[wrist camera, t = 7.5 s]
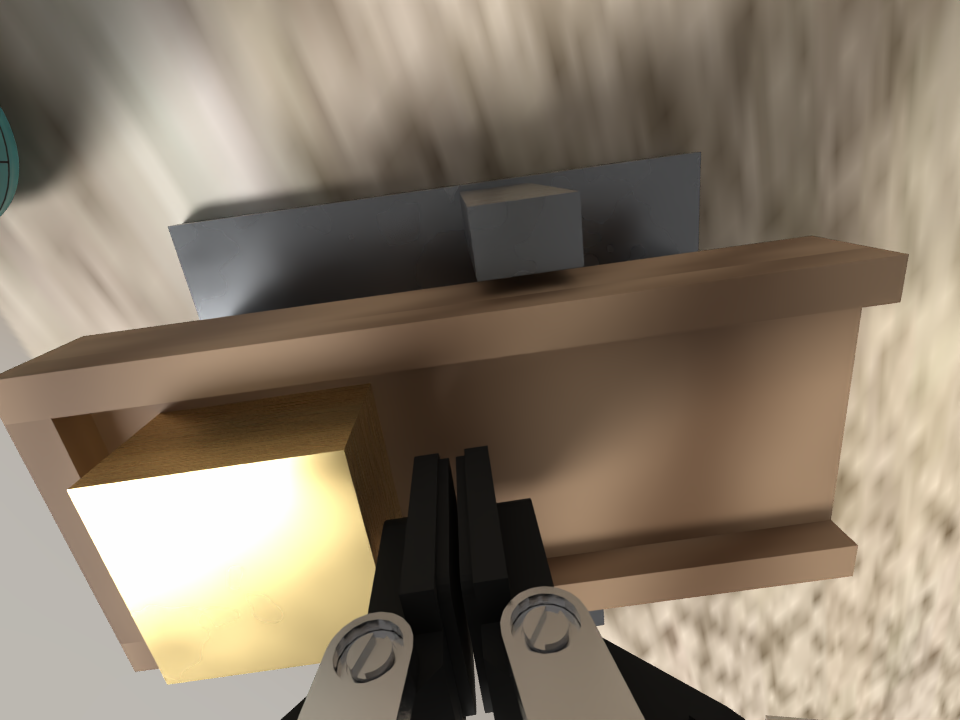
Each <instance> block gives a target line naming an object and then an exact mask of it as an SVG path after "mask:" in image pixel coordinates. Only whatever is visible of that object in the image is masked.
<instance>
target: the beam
mask: <svg viewBox="0 0 960 720" xmlns="http://www.w3.org/2000/svg"><path fill="white" fill-rule="evenodd" d="M908 256H909V254H904V253H899V252H894V251H889V250H883V249H878V248H873V247H868V246H862V245H857V244H852V243H847V242H841V241H836V240H831V239H826V238H820V237H815V236H806V237H799V238H791V239H784V240H777V241H770V242H762V243H755V244H748V245H741V246H733V247H726V248H719V249H712V250H704V251H697V252H690V253H683V254H675V255H668V256H661V257H654V258H646V259H639V260H632V261H625V262H617V263H610V264H603V265H596V266H589V267H581V268H574V269H567V270H560V271H552V272H545V273H538V274H531V275H523V276H516V277H509V278H502V279H494V280H487V281H480V282H473V283H465V284H458V285H451V286H444V287H436V288H429V289H422V290H415V291H407V292H400V293H393V294H386V295H379V296H371V297H364V298H357V299H350V300H342V301H335V302H328V303H321V304H313V305H306V306H299V307H292V308H284V309H277V310H270V311H263V312H255V313H248V314H241V315H234V316H226V317H219V318H212V319H205V320H197V321H190V322H183V323H176V324H169V325H161V326H154V327H147V328H140V329H132V330H125V331H118V332H111V333H103V334H96V335H89V336H83V337H80V338H78V339H76V340H74V341H72V342H69V343H67V344H65V345H63V346H60V347H58V348H56V349H54V350H52V351H49V352H47V353H45V354H43V355H40V356H38V357H36V358H34V359H32V360H29V361H27V362H25V363H23V364H20V365H18V366H16V367H14V368H12V369H9V370H7V371H5V372H3V373H1V374H0V418H1V420H2V421H3V423H4V425H5V427H6V429H7V431H8V433H9V435H10V437H11V439H12V440H13V442H14V444H15V446H16V448H17V450H18V452H19V454H20V455H21V457H22V459H23V461H24V463H25V465H26V467H27V469H28V470H29V473H30V474H31V476H32V478H33V480H34V482H35V484H36V486H37V488H38V489H39V491H40V493H41V495H42V497H43V499H44V501H45V503H46V504H47V506H48V508H49V510H50V512H51V514H52V516H53V518H54V520H55V522H56V523H57V525H58V527H59V529H60V531H61V533H62V534H63V537H64V538H65V540H66V542H67V544H68V546H69V548H70V550H71V552H72V554H73V556H74V557H75V559H76V561H77V563H78V565H79V567H80V569H81V571H82V573H83V574H84V576H85V578H86V580H87V582H88V584H89V586H90V588H91V589H92V591H93V593H94V595H95V597H96V599H97V601H98V603H99V605H100V606H101V608H102V610H103V612H104V614H105V616H106V618H107V620H108V622H109V623H110V625H111V627H112V629H113V631H114V633H115V634H116V637H117V639H118V640H119V642H120V644H121V646H122V648H123V650H124V652H125V654H126V656H127V657H128V659H129V661H130V663H131V665H132V667H133V669H134V671H135V672H137V671H145V670H152V669H159V667H158V665H157V663H156V661H155V659H154V658H153V656H152V654H151V652H150V650H149V648H148V646H147V644H146V642H145V640H144V638H143V636H142V634H141V632H140V630H139V628H138V627H137V625H136V623H135V621H134V619H133V617H132V615H131V613H130V611H129V609H128V607H127V605H126V603H125V601H124V599H123V597H122V596H121V594H120V592H119V590H118V588H117V586H116V584H115V582H114V580H113V578H112V576H111V574H110V572H109V570H108V568H107V567H106V565H105V563H104V561H103V559H102V557H101V555H100V553H99V551H98V549H97V547H96V545H95V543H94V541H93V539H92V537H91V536H90V534H89V532H88V530H87V528H86V526H85V524H84V522H83V520H82V518H81V516H80V514H79V512H78V510H77V508H76V507H75V505H74V503H73V501H72V499H71V497H70V495H69V493H68V491H67V489H68V488H70V487H71V486H72V485H73V484H75V483H76V482H77V481H78V480H79V479H81V478H82V477H83V476H84V475H85V474H87V473H88V472H89V471H90V470H92V469H93V468H94V467H95V466H96V465H98V464H99V463H100V462H101V461H102V460H104V459H105V458H106V457H107V456H108V455H110V454H111V453H112V452H113V451H115V450H116V449H117V448H118V447H119V446H121V445H122V444H123V443H124V442H125V441H127V440H128V439H129V438H130V437H132V436H133V435H134V434H135V433H136V432H138V431H139V430H140V429H141V428H142V427H144V426H145V425H146V424H147V423H148V422H150V421H151V420H152V419H153V418H155V417H156V416H157V415H158V414H159V413H166V412H173V411H180V410H187V409H194V408H201V407H207V406H214V405H221V404H228V403H235V402H242V401H249V400H256V399H263V398H269V397H276V396H283V395H290V394H297V393H304V392H311V391H318V390H325V389H332V388H338V387H345V386H352V385H359V384H366V383H371V386H372V390H373V395H374V399H375V403H376V407H377V412H378V416H379V420H380V424H381V428H382V433H383V437H384V441H385V445H386V450H387V454H388V458H389V462H390V466H391V471H392V475H393V479H394V483H395V488H396V492H397V496H398V500H399V505H400V509H401V513H402V517H408V508H409V499H410V490H411V481H412V472H413V463H414V457H415V456H421V455H428V454H434V453H439V456H440V459H444V458H449V461H450V466H451V471H452V477H453V482H454V488H455V493H456V499H457V482H456V457H457V456H463V455H464V449H467V448H473V447H480V446H487V445H488V452H489V458H490V465H491V471H492V478H493V484H494V491H495V497H496V503H500V502H506V501H513V500H519V499H526V498H531V500H532V504H533V507H534V511H535V515H536V519H537V523H538V527H539V530H540V534H541V538H542V542H543V546H544V550H545V553H546V557H547V561H548V565H549V569H550V572H551V576H552V580H553V584H554V587H557V588H560V589H563V590H566V591H568V592H570V593H572V594H573V595H575V596H576V597H577V598H579V599H580V600H581V602H582V603H583V604H584V605H585V607H586V608H587V610H588V611H594V610H601V609H609V608H616V607H624V606H631V605H639V604H646V603H654V602H661V601H669V600H676V599H684V598H691V597H699V596H706V595H714V594H721V593H728V592H736V591H743V590H751V589H758V588H766V587H773V586H781V585H788V584H796V583H803V582H811V581H818V580H826V579H833V578H841V577H848V576H853V571H854V565H855V560H856V554H857V548H858V545H857V544H856V543H855V542H854V541H853V540H852V539H851V538H849V537H848V536H847V535H846V534H845V533H844V532H843V531H842V530H841V529H840V528H839V527H838V526H837V525H836V524H835V523H834V522H832V521H831V515H832V508H833V501H834V494H835V488H836V481H837V474H838V467H839V460H840V453H841V447H842V440H843V433H844V426H845V419H846V413H847V406H848V399H849V392H850V385H851V379H852V372H853V365H854V358H855V351H856V344H857V338H858V331H859V324H860V317H861V310H862V307H869V306H877V305H884V304H891V303H898V302H901V296H902V290H903V284H904V279H905V273H906V267H907V261H908Z"/></svg>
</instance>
